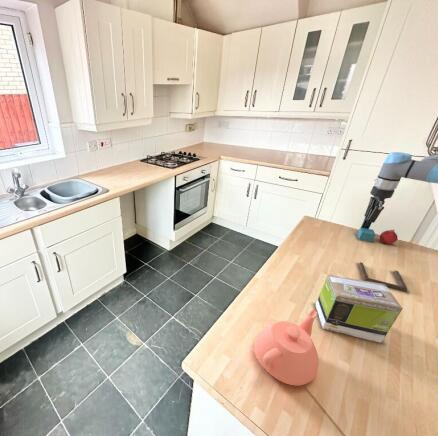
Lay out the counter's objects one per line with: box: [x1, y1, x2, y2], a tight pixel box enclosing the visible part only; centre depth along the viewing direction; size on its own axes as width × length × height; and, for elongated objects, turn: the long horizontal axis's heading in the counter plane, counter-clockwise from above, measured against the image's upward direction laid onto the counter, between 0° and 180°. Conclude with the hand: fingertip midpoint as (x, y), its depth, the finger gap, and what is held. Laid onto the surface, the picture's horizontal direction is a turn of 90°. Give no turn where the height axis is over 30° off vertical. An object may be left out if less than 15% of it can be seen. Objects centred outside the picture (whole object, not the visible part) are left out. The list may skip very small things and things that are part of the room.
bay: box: [358, 261, 408, 293], centre depth 94 cm, size 11×12×2 cm
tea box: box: [315, 274, 403, 343], centre depth 73 cm, size 15×10×15 cm, turn 70°
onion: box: [379, 228, 398, 245], centre depth 112 cm, size 6×6×8 cm
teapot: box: [253, 309, 319, 386], centre depth 64 cm, size 22×15×12 cm
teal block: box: [356, 226, 376, 243], centre depth 117 cm, size 5×5×5 cm
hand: (362, 231), depth 121 cm, fingers closed
